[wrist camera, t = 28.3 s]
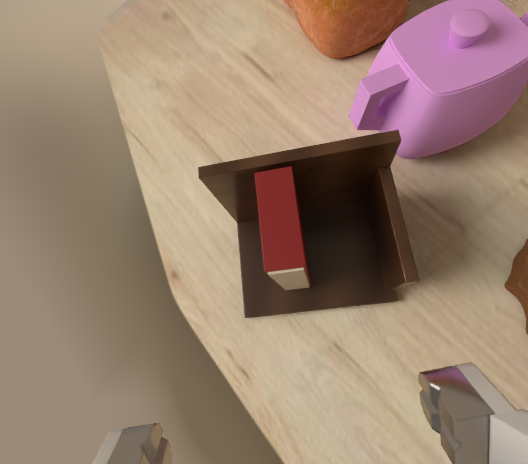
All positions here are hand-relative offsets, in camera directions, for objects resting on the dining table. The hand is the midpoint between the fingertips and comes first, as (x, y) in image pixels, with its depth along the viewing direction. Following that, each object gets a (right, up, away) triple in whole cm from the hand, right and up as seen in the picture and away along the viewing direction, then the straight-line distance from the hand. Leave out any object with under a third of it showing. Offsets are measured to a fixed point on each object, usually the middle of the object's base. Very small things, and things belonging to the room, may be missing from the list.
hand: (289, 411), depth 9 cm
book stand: (+5, +3, +25) cm, 26 cm away
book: (+3, +3, +25) cm, 25 cm away
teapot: (+19, +19, +28) cm, 38 cm away
